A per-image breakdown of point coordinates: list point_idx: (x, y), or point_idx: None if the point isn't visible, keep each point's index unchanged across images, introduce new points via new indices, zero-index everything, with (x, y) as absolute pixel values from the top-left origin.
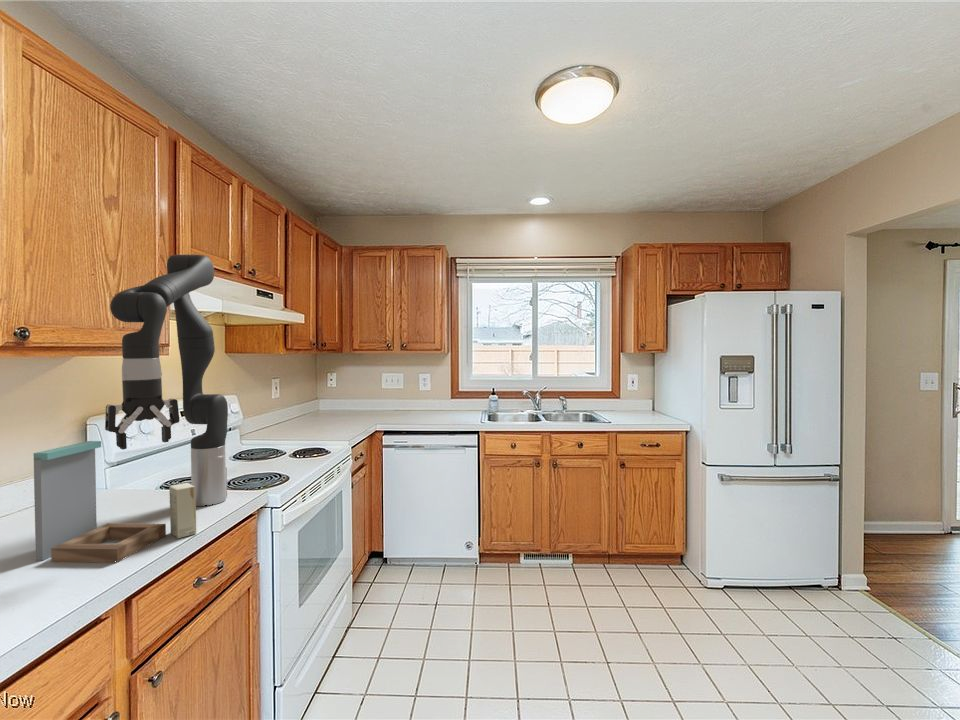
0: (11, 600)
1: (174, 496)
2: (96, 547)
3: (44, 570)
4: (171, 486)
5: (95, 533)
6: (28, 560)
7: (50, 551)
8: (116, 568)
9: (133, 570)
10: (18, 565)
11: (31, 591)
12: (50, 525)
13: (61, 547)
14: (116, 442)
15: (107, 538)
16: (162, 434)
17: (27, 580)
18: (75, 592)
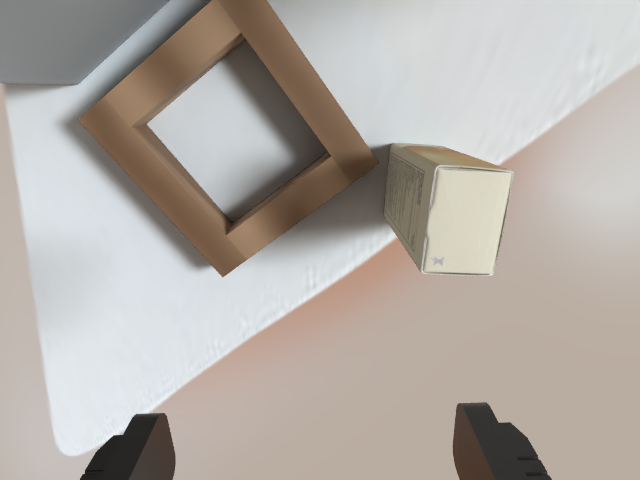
0: (39, 301)
1: (415, 235)
2: (182, 222)
3: (85, 172)
4: (437, 186)
5: (195, 72)
6: None
7: (86, 68)
8: (221, 295)
9: (246, 334)
10: None
11: (69, 285)
12: (35, 62)
13: (103, 137)
14: (86, 472)
15: (240, 41)
16: (480, 469)
17: (55, 211)
18: (142, 355)
